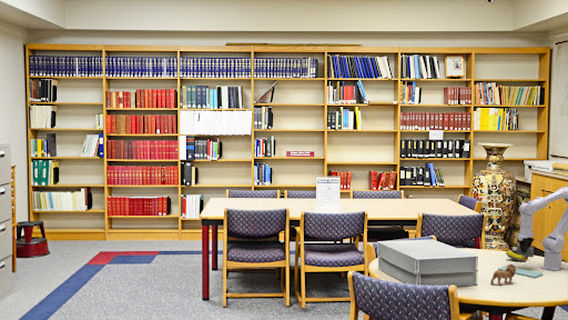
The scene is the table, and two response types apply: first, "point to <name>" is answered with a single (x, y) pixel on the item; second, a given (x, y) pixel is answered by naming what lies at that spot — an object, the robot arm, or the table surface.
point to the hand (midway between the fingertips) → (525, 252)
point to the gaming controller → (514, 256)
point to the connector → (528, 252)
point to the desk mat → (523, 272)
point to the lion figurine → (504, 274)
